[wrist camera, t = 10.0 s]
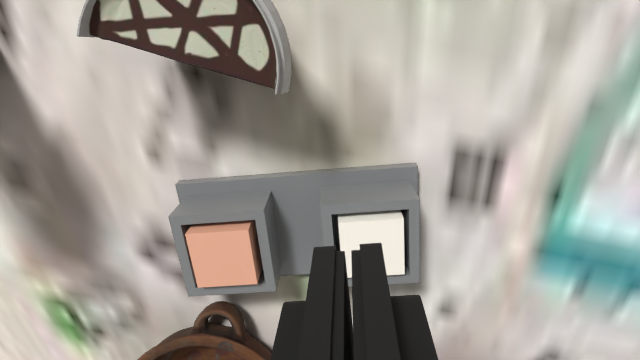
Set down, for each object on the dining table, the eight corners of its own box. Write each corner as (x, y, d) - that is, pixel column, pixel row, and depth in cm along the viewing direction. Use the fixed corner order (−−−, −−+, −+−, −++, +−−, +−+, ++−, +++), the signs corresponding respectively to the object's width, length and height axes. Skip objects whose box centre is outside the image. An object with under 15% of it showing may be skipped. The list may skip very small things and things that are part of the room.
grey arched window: (319, -2, 29) (314, -19, 20) (298, 78, 31) (285, 97, 22) (157, -53, 28) (73, -96, 19) (147, 33, 31) (66, 33, 21)
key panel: (415, 162, 34) (429, 183, 29) (415, 261, 37) (427, 294, 33) (179, 180, 35) (156, 203, 30) (201, 274, 38) (183, 308, 34)
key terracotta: (255, 213, 33) (248, 229, 30) (263, 263, 35) (257, 284, 32) (197, 217, 33) (185, 234, 30) (208, 267, 35) (197, 287, 32)
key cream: (397, 202, 32) (403, 218, 30) (398, 254, 34) (404, 274, 31) (337, 206, 33) (338, 223, 30) (341, 258, 34) (342, 278, 32)
